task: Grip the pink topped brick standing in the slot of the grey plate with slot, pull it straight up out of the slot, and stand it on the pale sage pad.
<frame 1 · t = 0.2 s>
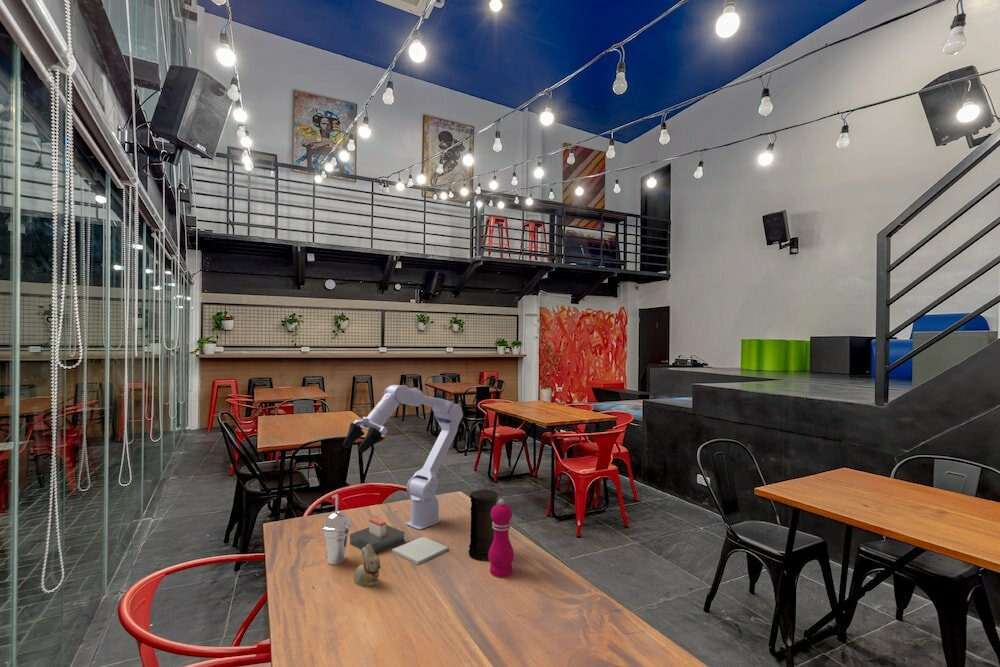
hand: (352, 448, 138), 31 cm above the table, tool tilted 45°, fingers open, 7 cm apart
grey plate with slot: (377, 542, 143), on the table
pad: (420, 550, 137), on the table
pink topped brick: (377, 531, 143), in the grey plate with slot
pepper mill: (501, 572, 125), on the table
container: (483, 554, 136), on the table
chocolate bunny: (366, 582, 119), on the table
drinking straw: (335, 561, 131), on the table
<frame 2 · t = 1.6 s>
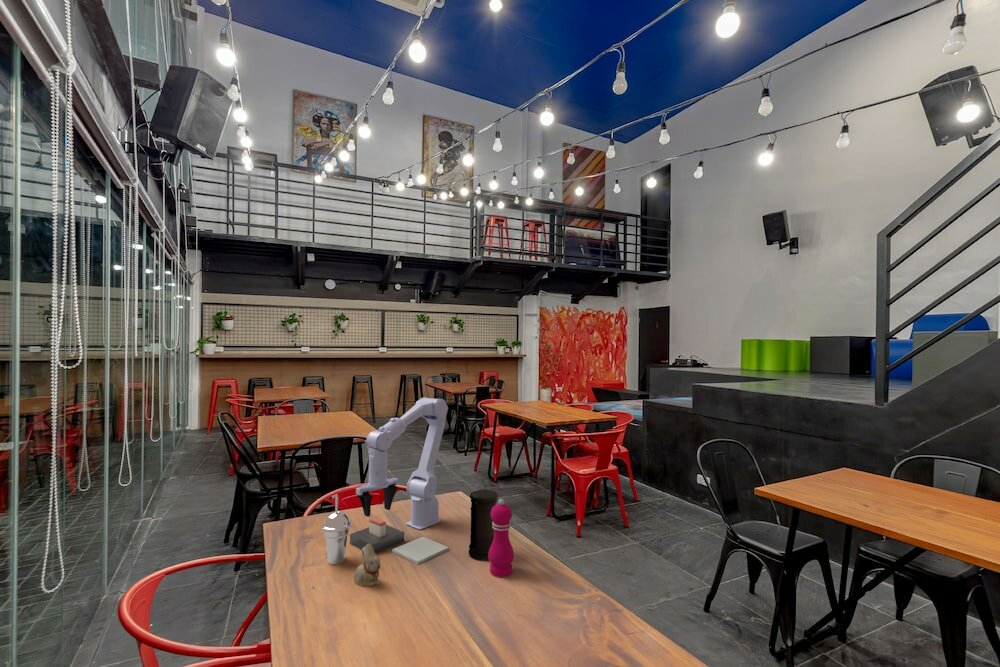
hand: (377, 512, 143), 10 cm above the table, tool pointing down, fingers open, 7 cm apart
nothing on the table moved.
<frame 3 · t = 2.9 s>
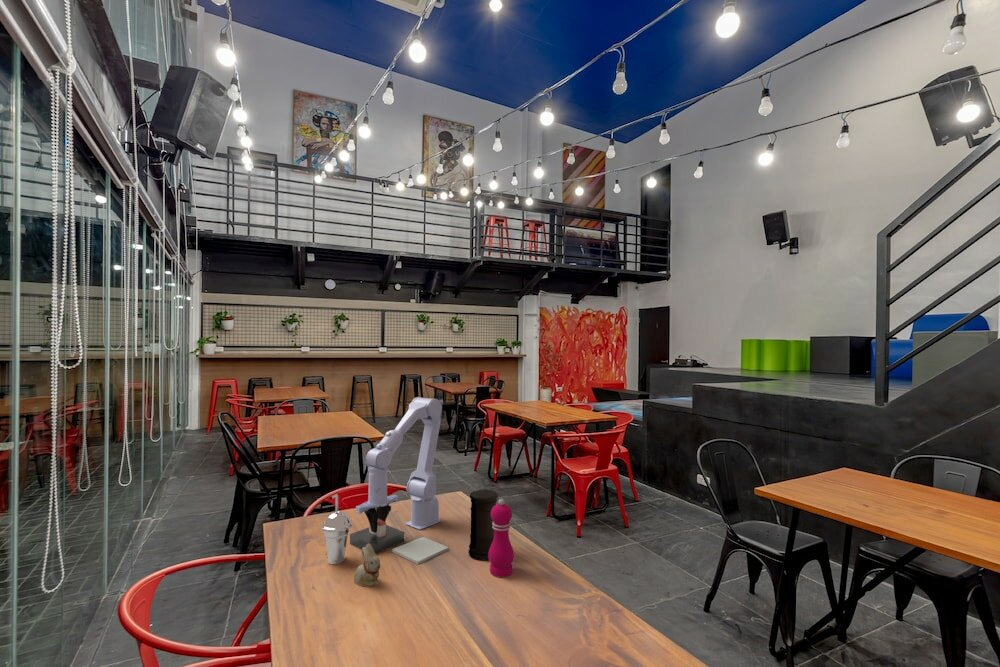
hand: (377, 530, 143), 4 cm above the table, tool pointing down, fingers closed on pink topped brick, 2 cm apart
pink topped brick: (377, 531, 143), in the grey plate with slot, touching gripper
everything else where it was.
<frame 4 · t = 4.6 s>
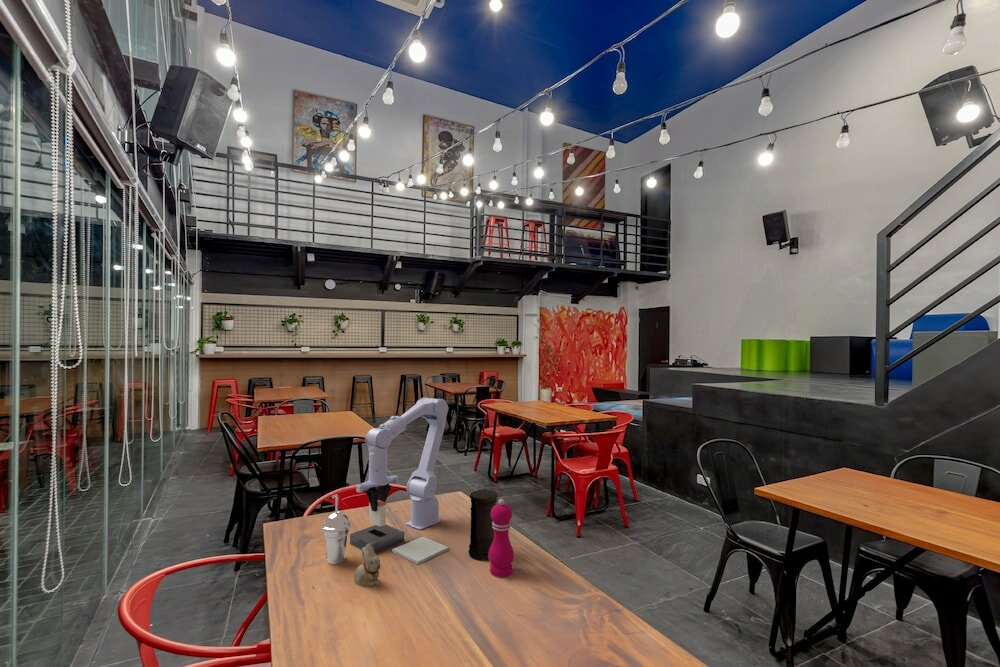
hand: (377, 509, 143), 10 cm above the table, tool pointing down, fingers closed on pink topped brick, 2 cm apart
pink topped brick: (377, 512, 144), point 10 cm above the table, touching gripper
everything else where it was.
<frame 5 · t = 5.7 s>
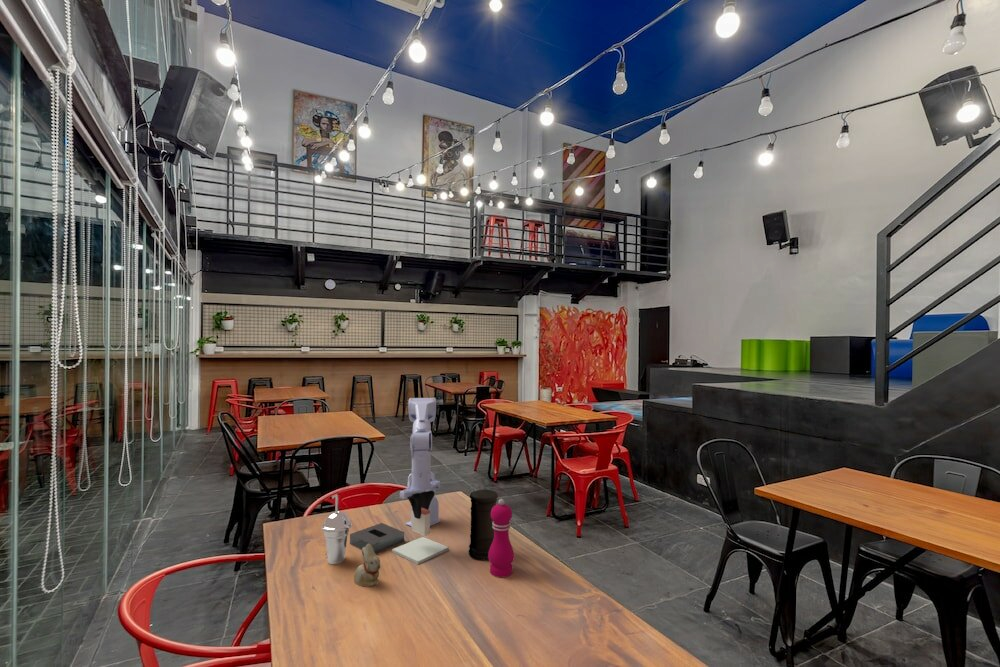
hand: (420, 516, 138), 10 cm above the table, tool pointing down, fingers closed on pink topped brick, 2 cm apart
pink topped brick: (420, 520, 138), point 9 cm above the table, touching gripper
everything else where it was.
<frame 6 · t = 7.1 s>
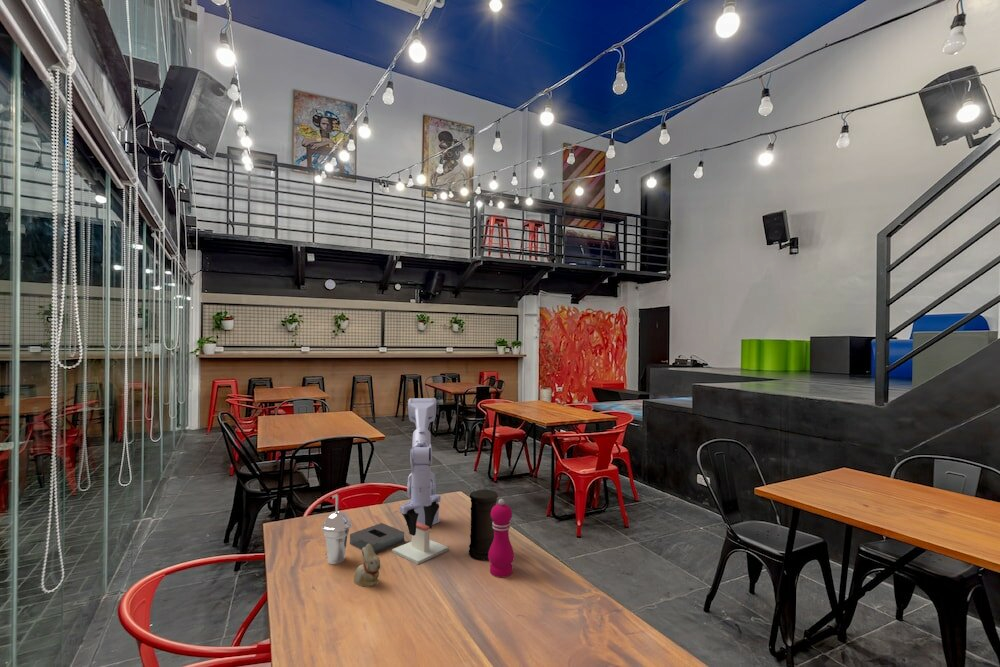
hand: (420, 531, 138), 6 cm above the table, tool pointing down, fingers open, 6 cm apart
pink topped brick: (420, 536, 138), on the pad, point 4 cm above the table
everything else where it was.
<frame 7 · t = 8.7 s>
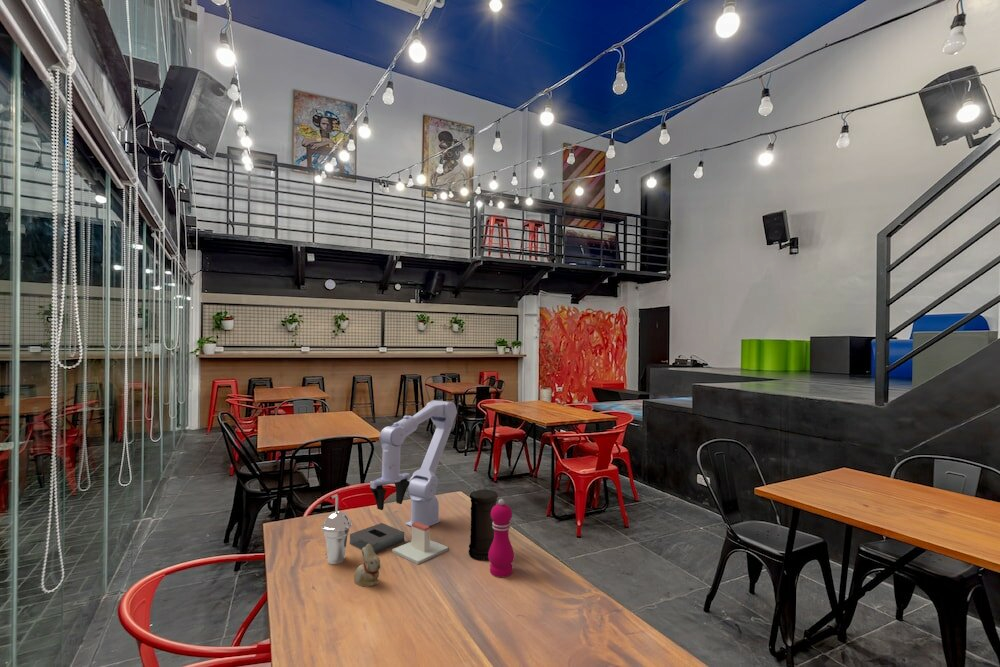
hand: (389, 506, 147), 10 cm above the table, tool pointing down, fingers open, 7 cm apart
nothing on the table moved.
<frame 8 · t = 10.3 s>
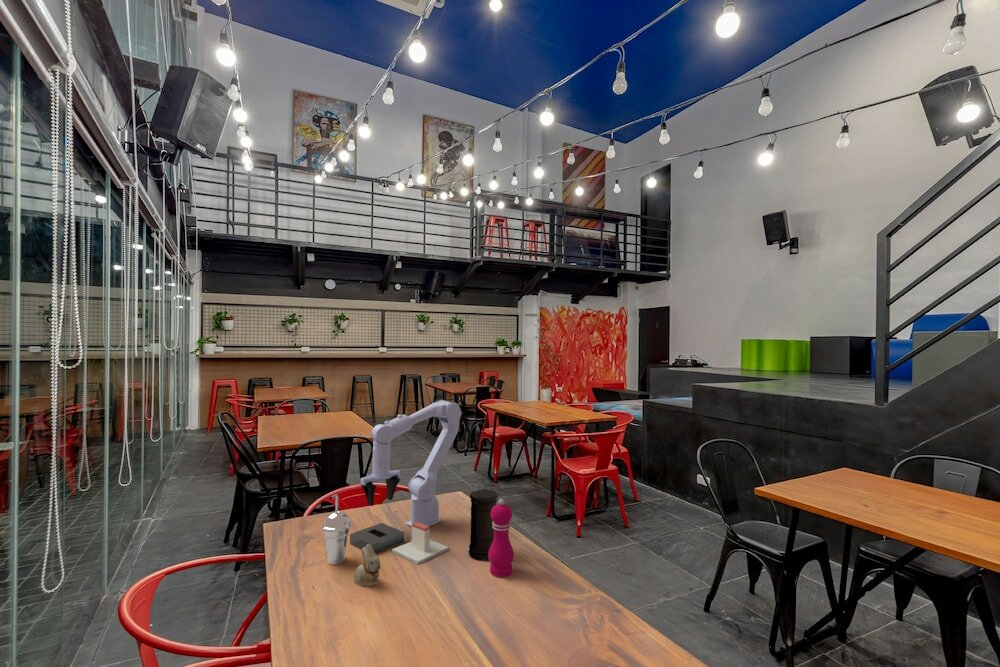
hand: (380, 502, 150), 10 cm above the table, tool pointing down, fingers open, 7 cm apart
nothing on the table moved.
at the end: pink topped brick inside the target area on the pad (0.0 cm from its centre), point 4.3 cm above the pad's base; the gripper is holding nothing; pink topped brick tilted 0° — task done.
